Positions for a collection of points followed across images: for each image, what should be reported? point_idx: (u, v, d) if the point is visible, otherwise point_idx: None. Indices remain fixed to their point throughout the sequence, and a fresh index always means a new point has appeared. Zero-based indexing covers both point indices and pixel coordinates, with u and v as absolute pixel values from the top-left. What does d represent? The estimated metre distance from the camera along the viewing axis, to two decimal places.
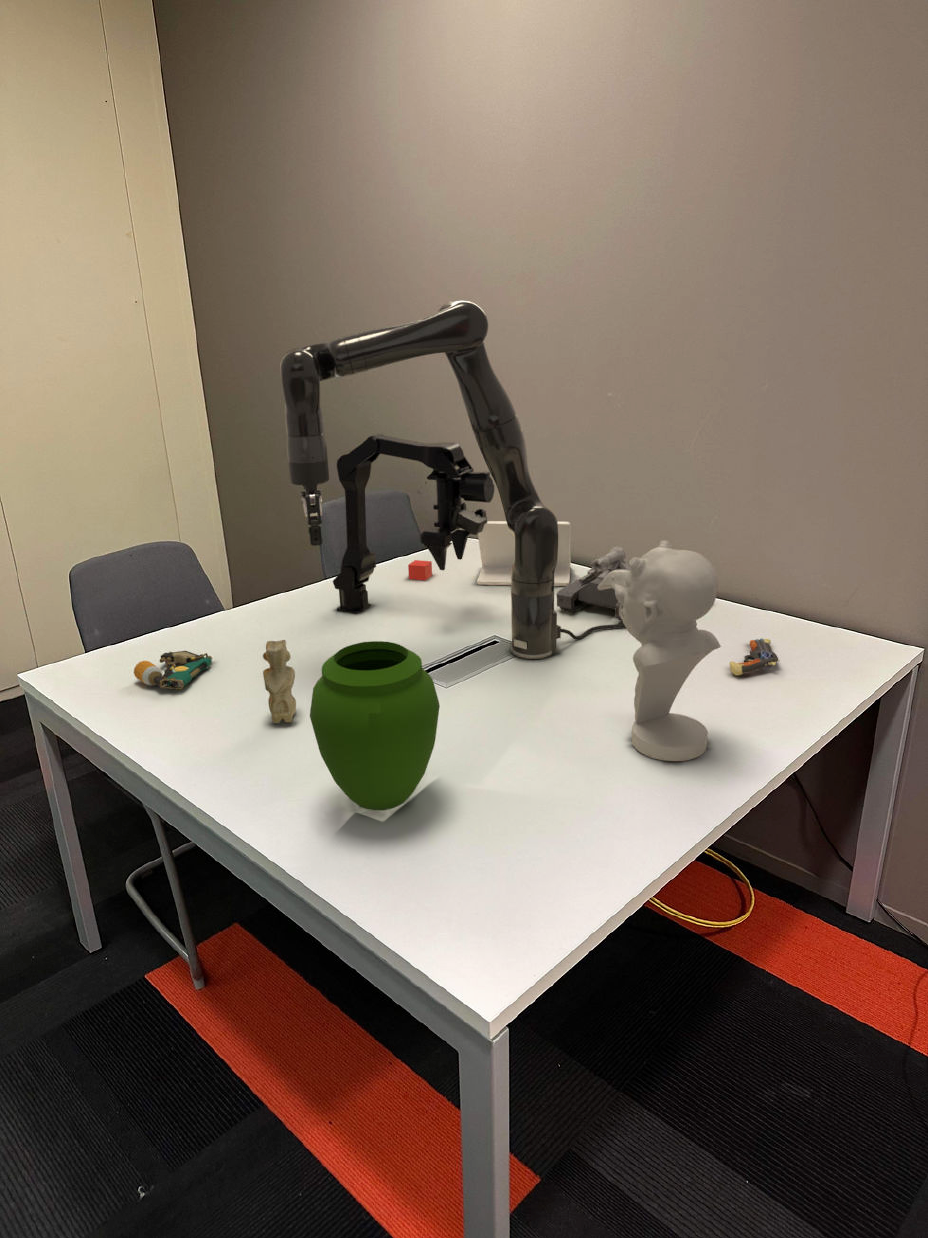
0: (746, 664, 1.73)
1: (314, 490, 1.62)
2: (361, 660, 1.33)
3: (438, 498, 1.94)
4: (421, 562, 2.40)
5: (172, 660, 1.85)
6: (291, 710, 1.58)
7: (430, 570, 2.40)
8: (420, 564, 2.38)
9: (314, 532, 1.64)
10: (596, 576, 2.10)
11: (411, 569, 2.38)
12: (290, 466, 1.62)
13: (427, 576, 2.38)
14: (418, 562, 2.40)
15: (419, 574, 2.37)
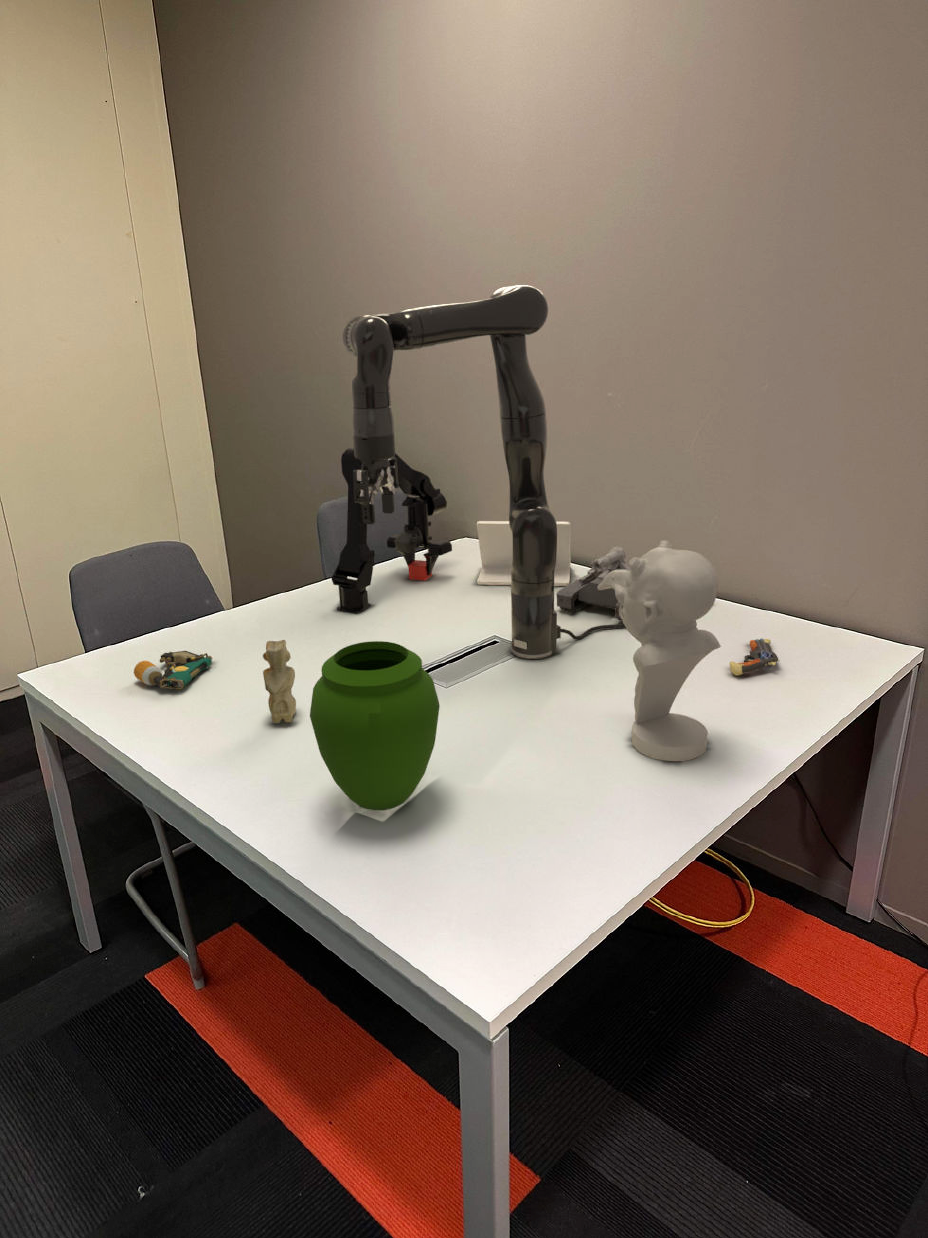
0: (746, 664, 1.73)
1: None
2: (361, 660, 1.33)
3: (421, 519, 2.32)
4: (421, 562, 2.39)
5: (172, 660, 1.85)
6: (291, 710, 1.58)
7: None
8: (420, 564, 2.38)
9: None
10: (596, 576, 2.10)
11: (411, 569, 2.38)
12: None
13: (427, 576, 2.38)
14: (418, 562, 2.40)
15: (419, 574, 2.37)
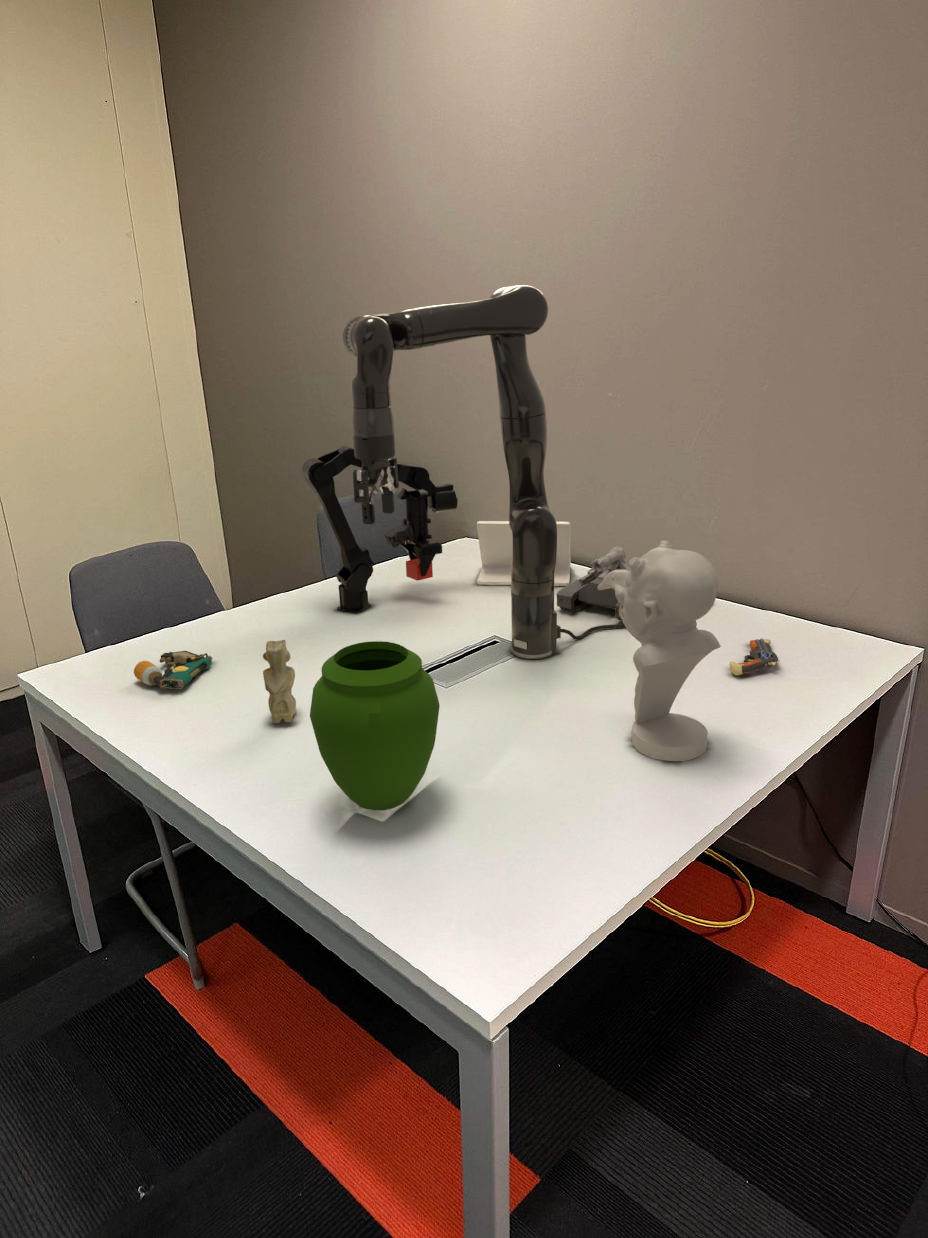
0: (746, 664, 1.73)
1: None
2: (361, 660, 1.33)
3: (414, 514, 2.14)
4: None
5: (172, 660, 1.85)
6: (291, 710, 1.58)
7: (429, 571, 2.21)
8: (416, 562, 2.20)
9: None
10: (596, 576, 2.10)
11: (408, 566, 2.21)
12: None
13: (421, 576, 2.20)
14: None
15: (413, 573, 2.20)
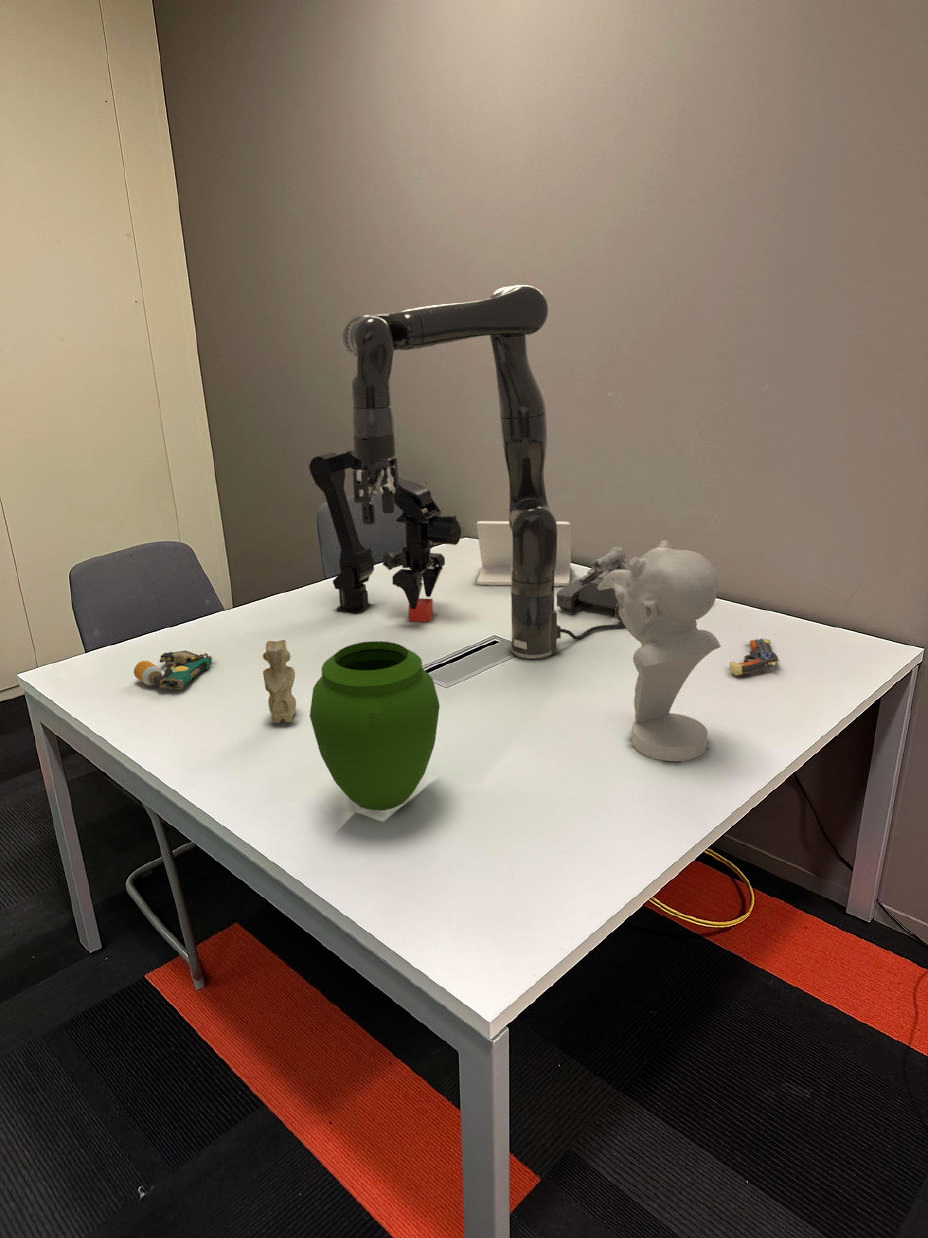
0: (746, 664, 1.73)
1: None
2: (361, 660, 1.33)
3: (407, 540, 2.01)
4: (423, 602, 2.08)
5: (172, 660, 1.85)
6: (291, 710, 1.58)
7: (424, 614, 2.07)
8: None
9: None
10: (596, 576, 2.10)
11: None
12: None
13: (414, 617, 2.07)
14: (423, 601, 2.09)
15: None
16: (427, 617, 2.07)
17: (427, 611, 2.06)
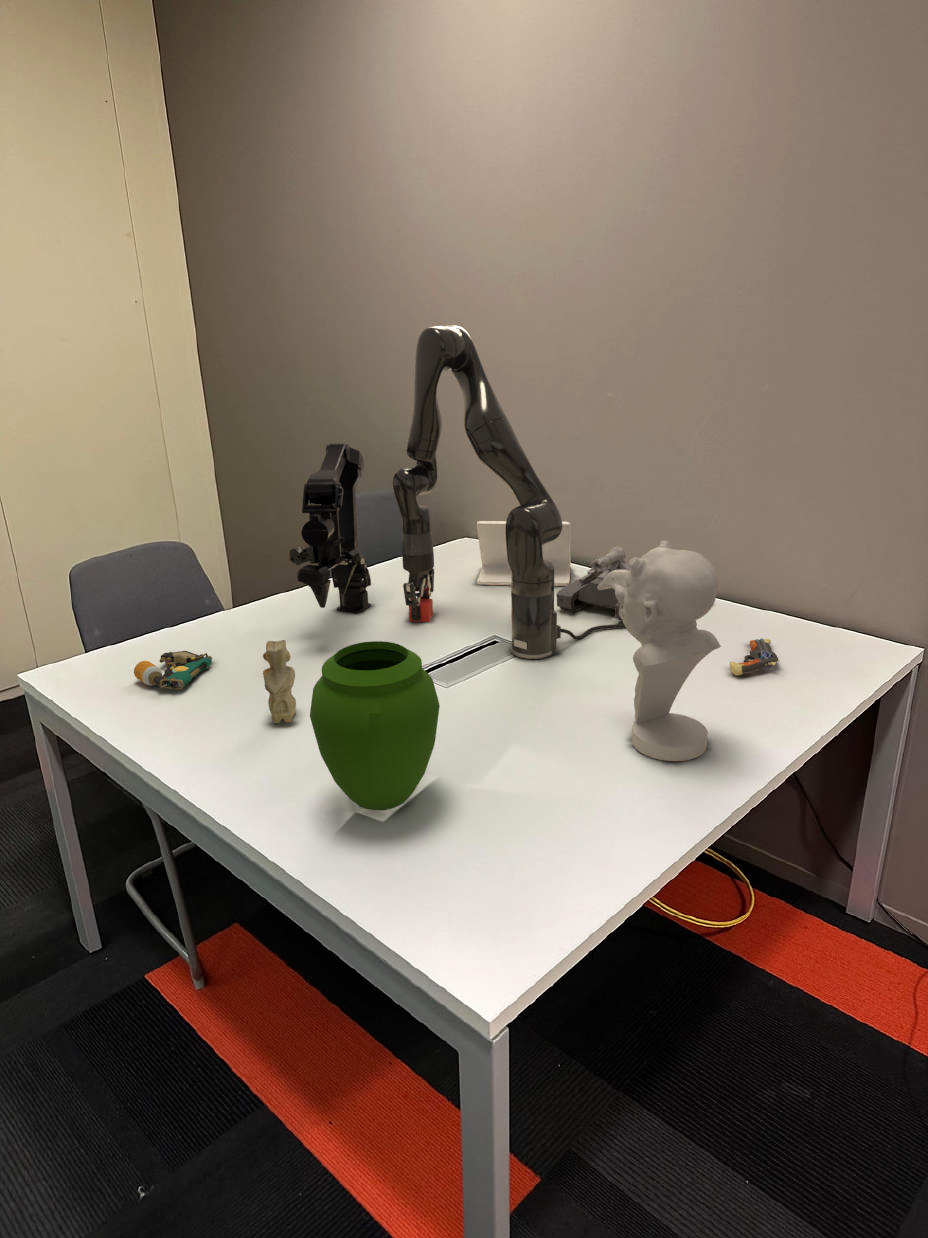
0: (746, 664, 1.73)
1: None
2: (361, 660, 1.33)
3: None
4: (423, 602, 2.08)
5: (172, 660, 1.85)
6: (291, 710, 1.58)
7: (424, 614, 2.07)
8: None
9: None
10: (596, 576, 2.10)
11: None
12: (433, 553, 2.04)
13: None
14: (423, 601, 2.09)
15: None
16: (427, 617, 2.07)
17: (427, 611, 2.06)
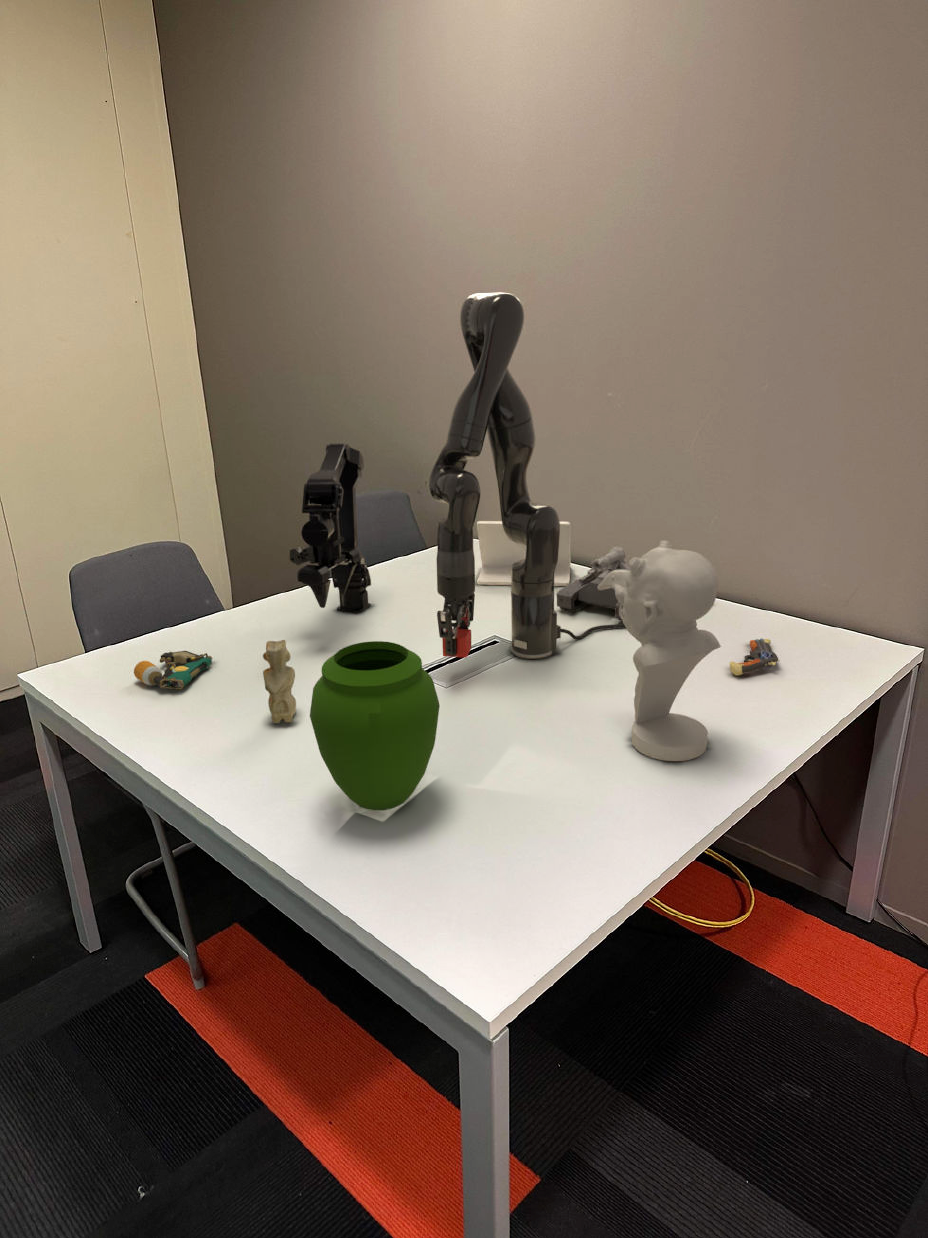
0: (746, 664, 1.73)
1: None
2: (361, 660, 1.33)
3: None
4: (460, 633, 1.72)
5: (172, 660, 1.85)
6: (291, 710, 1.58)
7: (460, 649, 1.71)
8: None
9: None
10: (596, 576, 2.10)
11: None
12: None
13: None
14: (460, 632, 1.73)
15: None
16: (464, 652, 1.71)
17: (465, 645, 1.70)
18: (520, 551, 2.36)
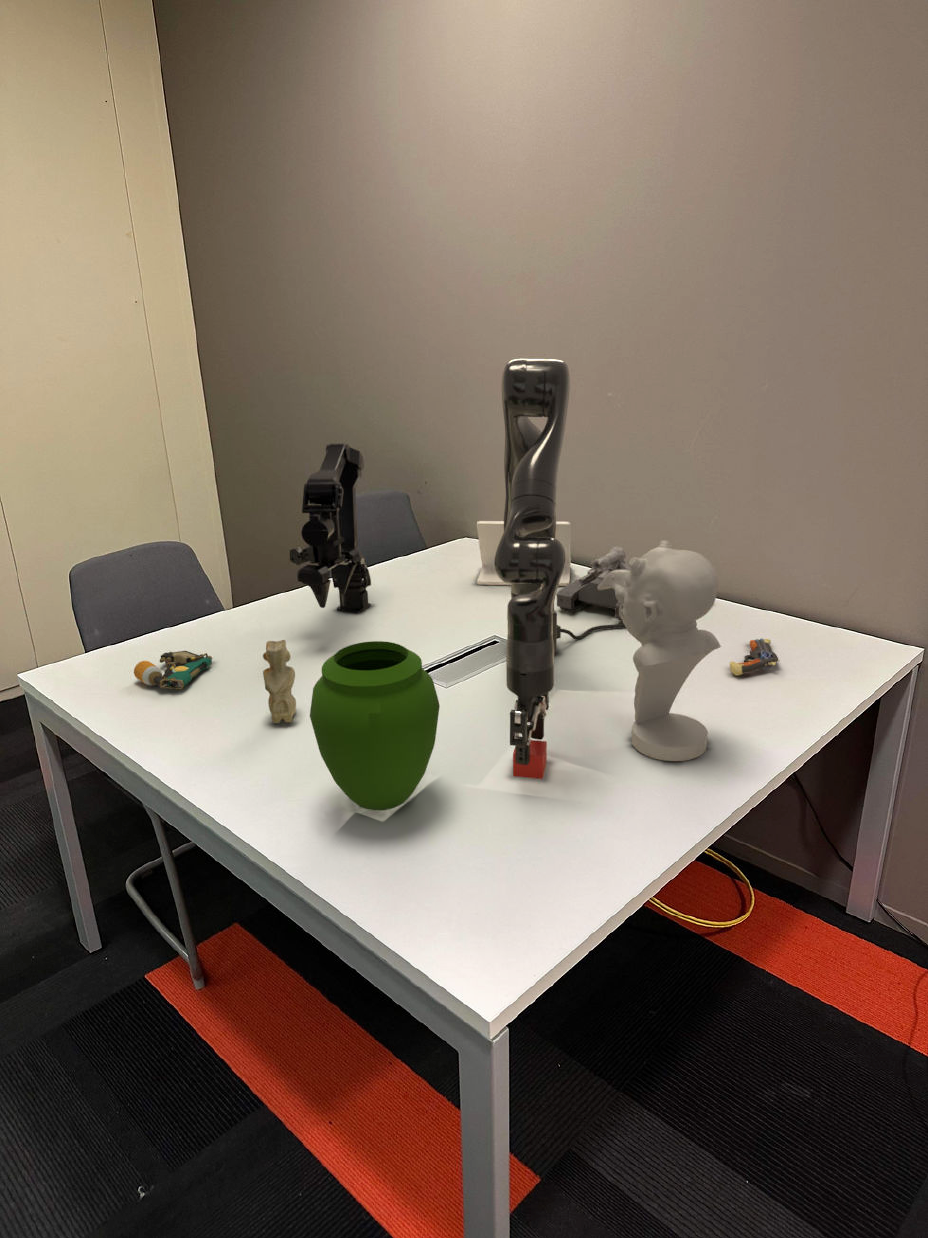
0: (746, 664, 1.73)
1: None
2: (361, 660, 1.33)
3: None
4: (534, 748, 1.39)
5: (172, 660, 1.85)
6: (291, 710, 1.58)
7: (535, 768, 1.38)
8: None
9: None
10: (596, 576, 2.10)
11: None
12: None
13: (520, 772, 1.39)
14: (533, 745, 1.40)
15: None
16: (540, 772, 1.38)
17: (541, 764, 1.38)
18: None
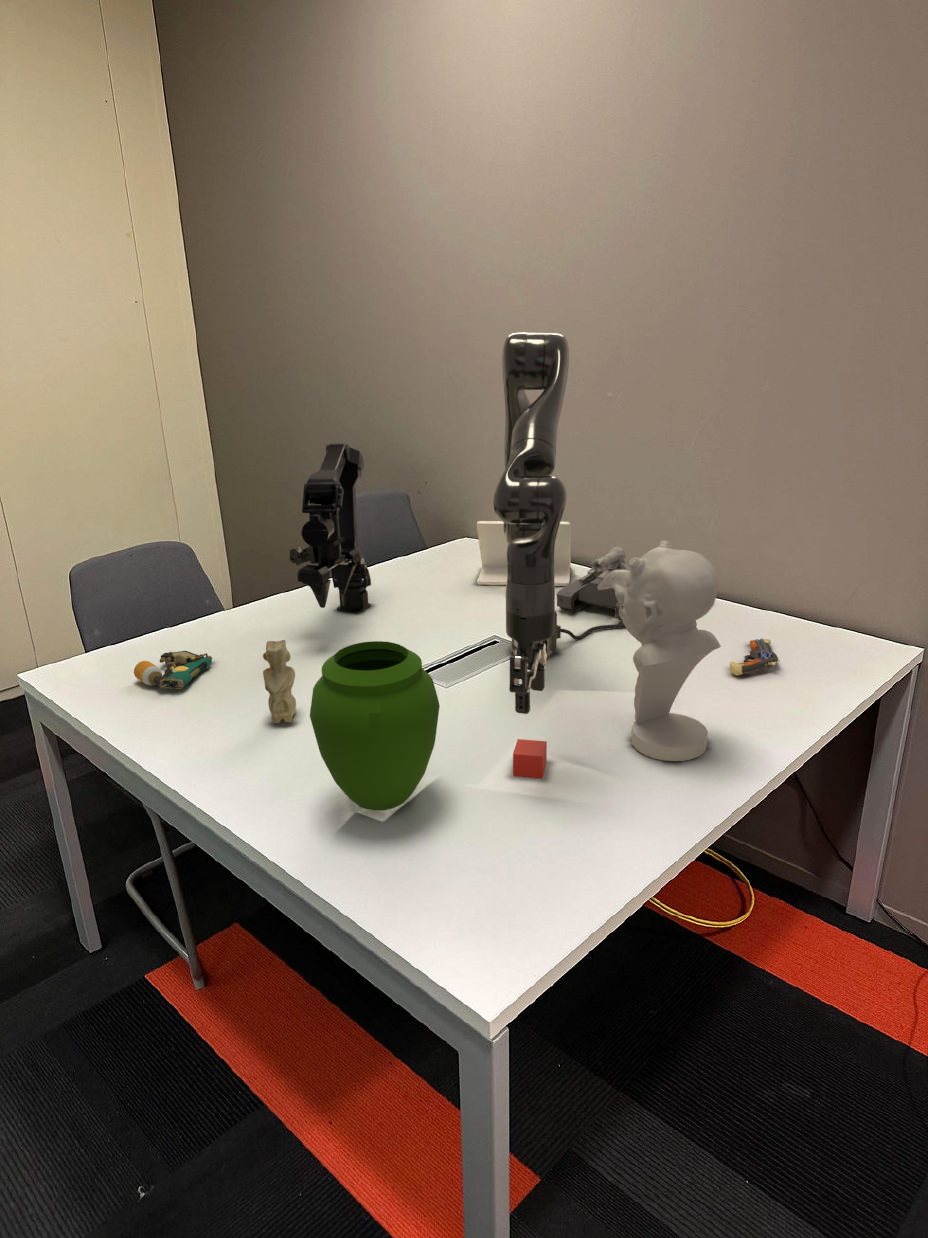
0: (746, 664, 1.73)
1: None
2: (361, 660, 1.33)
3: None
4: (534, 748, 1.39)
5: (172, 660, 1.85)
6: (291, 710, 1.58)
7: (535, 768, 1.38)
8: (522, 749, 1.39)
9: None
10: (596, 576, 2.10)
11: None
12: None
13: (520, 772, 1.39)
14: (533, 745, 1.40)
15: None
16: (540, 772, 1.38)
17: (541, 764, 1.38)
18: None
